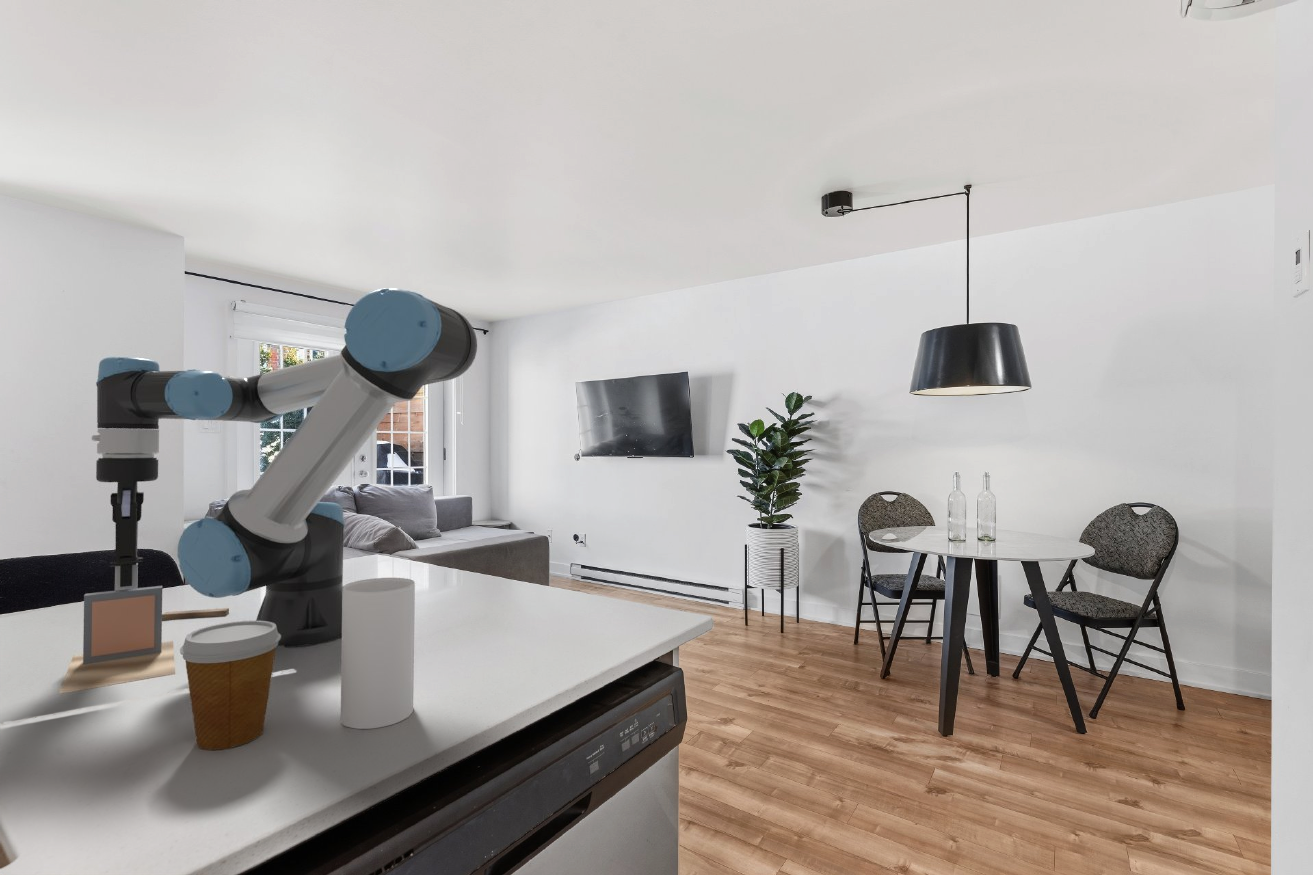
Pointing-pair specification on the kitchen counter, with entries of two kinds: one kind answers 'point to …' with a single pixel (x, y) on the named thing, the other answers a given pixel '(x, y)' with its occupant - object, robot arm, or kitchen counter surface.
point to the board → (118, 670)
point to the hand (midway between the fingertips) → (126, 605)
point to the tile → (122, 624)
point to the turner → (194, 614)
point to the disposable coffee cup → (230, 680)
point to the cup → (377, 652)
